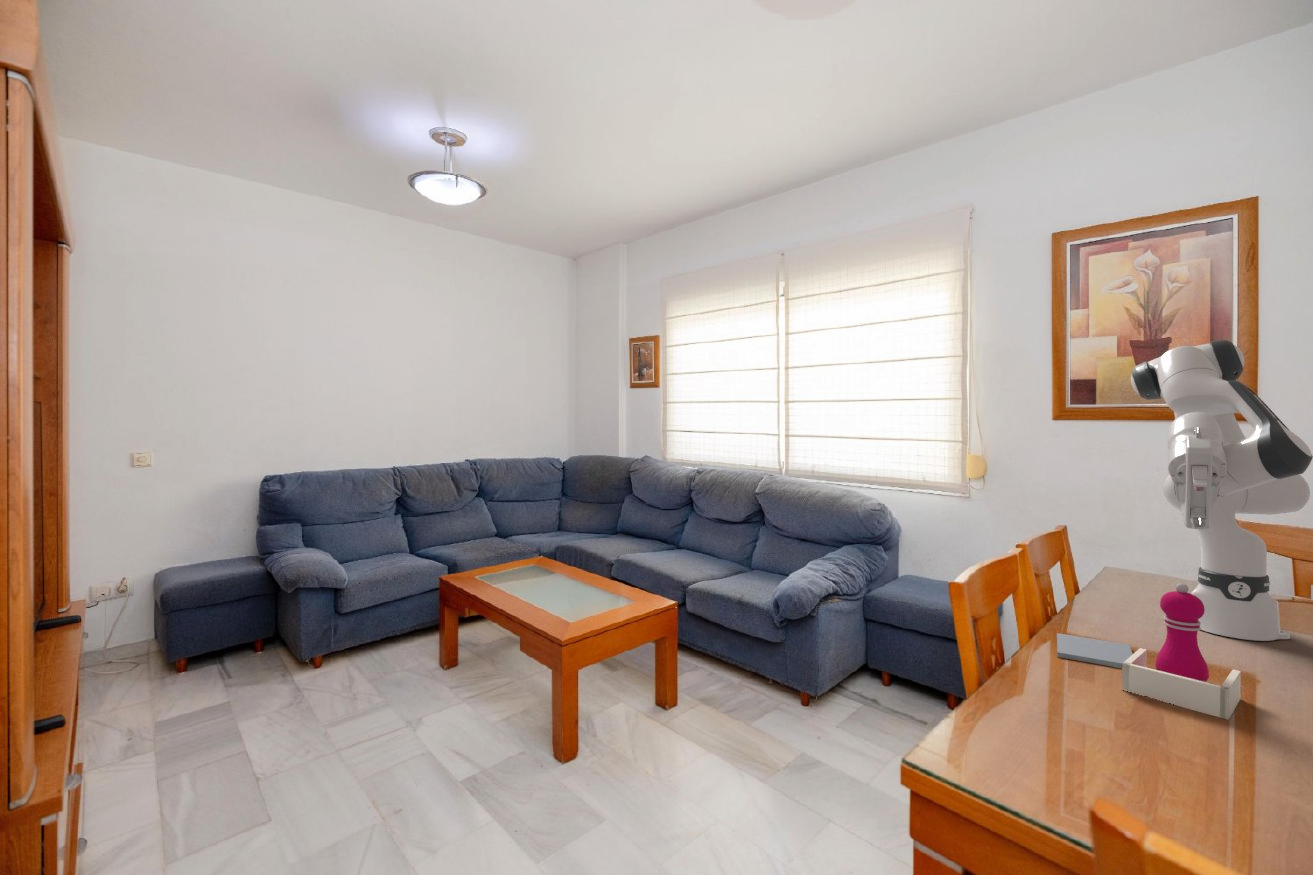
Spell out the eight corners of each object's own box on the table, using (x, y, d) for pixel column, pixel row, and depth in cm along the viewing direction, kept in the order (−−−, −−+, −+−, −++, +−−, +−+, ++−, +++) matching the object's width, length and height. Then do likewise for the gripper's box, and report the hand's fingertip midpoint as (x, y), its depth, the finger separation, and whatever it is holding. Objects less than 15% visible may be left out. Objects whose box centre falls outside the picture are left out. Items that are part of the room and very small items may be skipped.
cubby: (1140, 673, 114) (1140, 647, 114) (1240, 698, 103) (1240, 670, 103) (1122, 690, 106) (1122, 663, 106) (1228, 719, 95) (1228, 689, 95)
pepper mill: (1219, 703, 101) (1220, 589, 101) (1171, 700, 102) (1172, 587, 102) (1190, 686, 108) (1191, 579, 108) (1146, 682, 109) (1146, 577, 109)
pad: (1056, 637, 134) (1056, 633, 134) (1129, 649, 126) (1129, 644, 126) (1057, 656, 122) (1057, 652, 122) (1137, 670, 115) (1137, 665, 115)
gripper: (1220, 422, 112) (1225, 464, 104) (1216, 503, 121) (1220, 549, 112) (1176, 422, 117) (1178, 463, 108) (1175, 501, 125) (1177, 545, 117)
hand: (1199, 507), depth 110 cm, fingers open, 8 cm apart
